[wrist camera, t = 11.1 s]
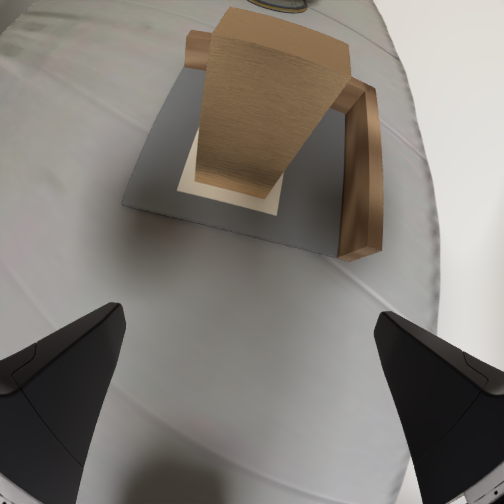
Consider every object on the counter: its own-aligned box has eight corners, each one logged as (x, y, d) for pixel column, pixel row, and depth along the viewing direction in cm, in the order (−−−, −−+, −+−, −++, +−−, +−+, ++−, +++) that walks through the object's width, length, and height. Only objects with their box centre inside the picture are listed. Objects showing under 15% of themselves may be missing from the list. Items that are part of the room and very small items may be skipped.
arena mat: (334, 257, 20) (337, 256, 20) (122, 205, 18) (121, 202, 17) (342, 116, 24) (345, 113, 23) (183, 70, 21) (183, 66, 21)
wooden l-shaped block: (264, 199, 19) (351, 77, 8) (194, 181, 19) (211, 34, 7) (279, 119, 21) (342, 4, 10) (220, 103, 20) (253, -25, 9)
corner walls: (350, 261, 21) (381, 250, 17) (122, 205, 18) (108, 180, 14) (355, 112, 24) (375, 88, 20) (188, 61, 21) (191, 29, 18)
